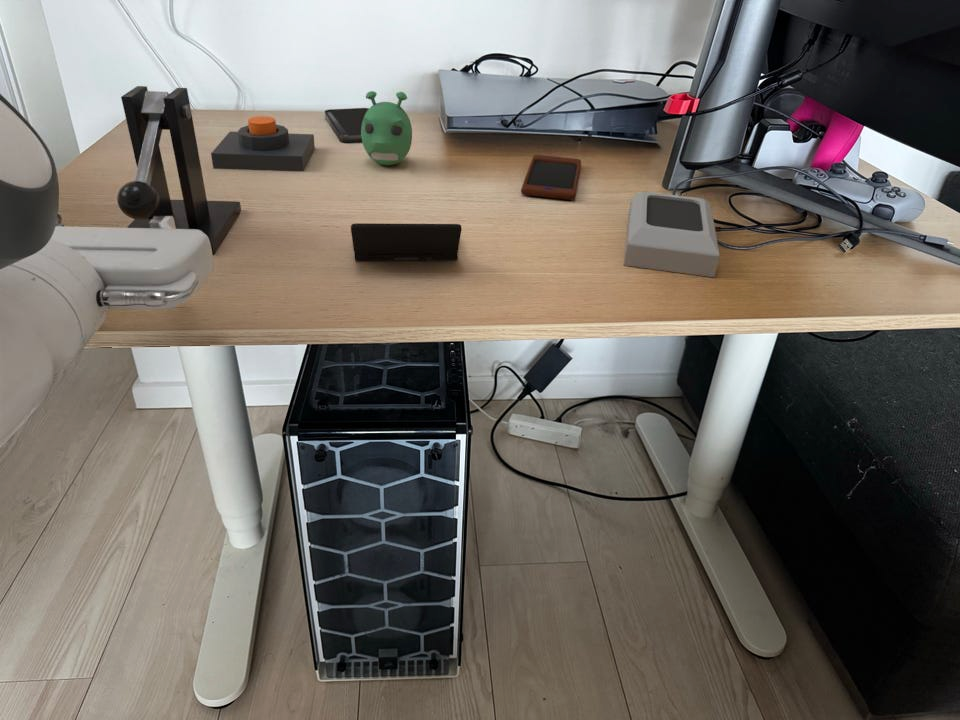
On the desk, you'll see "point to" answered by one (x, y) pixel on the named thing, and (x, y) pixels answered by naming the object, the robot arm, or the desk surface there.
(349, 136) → the phone
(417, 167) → the desk surface
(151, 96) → the lever
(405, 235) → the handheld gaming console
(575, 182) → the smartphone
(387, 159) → the alien toy
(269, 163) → the button box
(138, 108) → the bracket
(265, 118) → the button
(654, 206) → the grey tapered block
